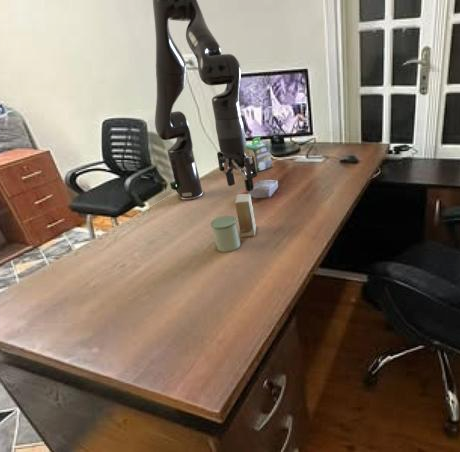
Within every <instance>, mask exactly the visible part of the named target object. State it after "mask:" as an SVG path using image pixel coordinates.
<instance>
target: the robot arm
mask: <svg viewBox="0 0 460 452" xmlns="http://www.w3.org/2000/svg"><path fill="white" fill-rule="evenodd" d="M152 7H153V8H152V9H153V20H154V32H155V33H154V34H155V79H156V98H155V100H156V101H155V102H156V103H155V110H154V112H155V113H154V128H155V131H156V134H157V136H158V137H159V139H161V140H163V141H171V140H174V139H176V140H175V142H174V144H172V145H171V146H170V147H168V148H167V153H166V154H167V156H168V159H169V163H170V167H171V171H172V174H173V175H172V176H173V179H174V181H172V182H169V185H170V188H171V190H173V191H176V193H177V195H178V197H179V199H180V200H183V201H190V200H191V201H192V200H196V199H198V198H201V197H202V196H203V195H204V191H203V188H202V183H201V179H200V176H199V170H198V167H197V163H196V159H195V153H194V150H193V147H194V146H193V145H194V143H193V140H192V135H191V128H190V124H189V120H188V118H187V116H186V114H185V113H184V112H182V111H180V110H179V111H173V107H174V106H175V103H176V102H177V101H178V99H179V97H180V95H181V94H182V92H183V91H184V89H185V86H186V82H187V63H186V60H185V57H184V56H183V53H182V52H181V51H180V49H179V48H178V46H177V44H176V43H175V41H174V39H173V37H172V35H171V32H170V26H169V22H170V21H175V22H176V21H178V22H188V24H187V27H186V29H185V39H186V43H187V45H188V47H189V49H190V50H191V52H192V54H193V55H194V57H195V59H196V64H197V69H198V75H199V78H200V80H201V81H202V82H203V83H204V84H205V85H207V86H210V87H215V86H223V85H226V86H225V89H224V91H223V92H221V93H218V94H216V95H214V96H213V97H212V98H211V106H212V111H213V115H214V122H215V132H216V135H217V141H218V146H219V151H217V152H216V153H217V154H216V156H217V162H218V167H219V171H220V172H223V174H224V175H225V179H226V182H227V186H229V187H232V186H234V185H235V184H236V180H235V177H234V176H235V174H234V172H233V171H234V170H236V171H237V172H238V173H239V174H240V175H242V177H243V178H244V185H245V191H246V192H248V193H249V191H251V190H253V188H254V186H253V185H254V180H253V178H257V176H258V172H257V171H256V167H255V161H254V157H253V156H251V157H246V155H245V150H246V149H247V145H248V144H247V140H246V139H247V138H246V133H245V126H244V122H243V119H242V113H241V109H240V108H241V107H240V95H239V94H240V85H241V74H242V71H241V69H242V68H241V65H240V62H239V60H238V58H237V57H236V56H235V55H234V54H232V53H223V54H222V49H221V46H220V44H219V43H218V41H217V40H216V39H217V38H215V36H214V35H213V33H212V32H211V30H210V28H209V26H208V24H207V22H206V20H205V17H204V15H203V12H202V9H201V7H200V4H199V2H198V0H152ZM223 164H224V165H223Z"/></svg>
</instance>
